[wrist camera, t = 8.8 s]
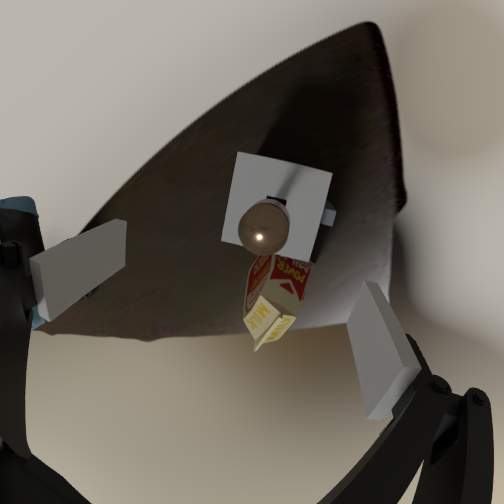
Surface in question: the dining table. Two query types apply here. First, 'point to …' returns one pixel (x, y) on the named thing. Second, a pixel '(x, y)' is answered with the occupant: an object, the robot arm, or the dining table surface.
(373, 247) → the dining table surface
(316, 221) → the grey box with hole
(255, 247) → the plunger
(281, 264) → the milk carton
